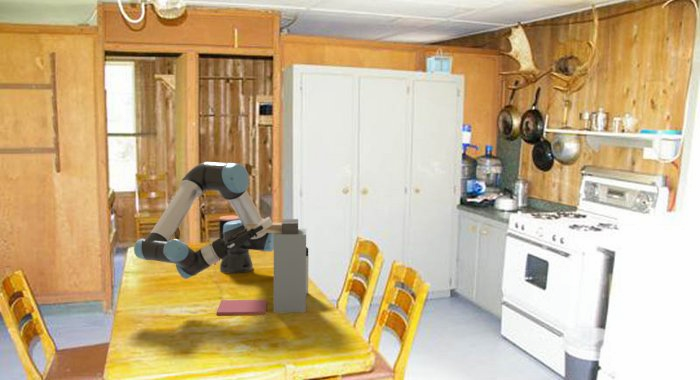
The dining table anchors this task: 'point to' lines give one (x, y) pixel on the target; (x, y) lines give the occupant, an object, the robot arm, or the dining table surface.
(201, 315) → the dining table surface
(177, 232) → the hand bell
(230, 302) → the mat
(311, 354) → the dining table surface
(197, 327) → the dining table surface
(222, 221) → the coffee jar
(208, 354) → the dining table surface
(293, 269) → the pedestal
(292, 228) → the stamp
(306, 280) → the travel mug
